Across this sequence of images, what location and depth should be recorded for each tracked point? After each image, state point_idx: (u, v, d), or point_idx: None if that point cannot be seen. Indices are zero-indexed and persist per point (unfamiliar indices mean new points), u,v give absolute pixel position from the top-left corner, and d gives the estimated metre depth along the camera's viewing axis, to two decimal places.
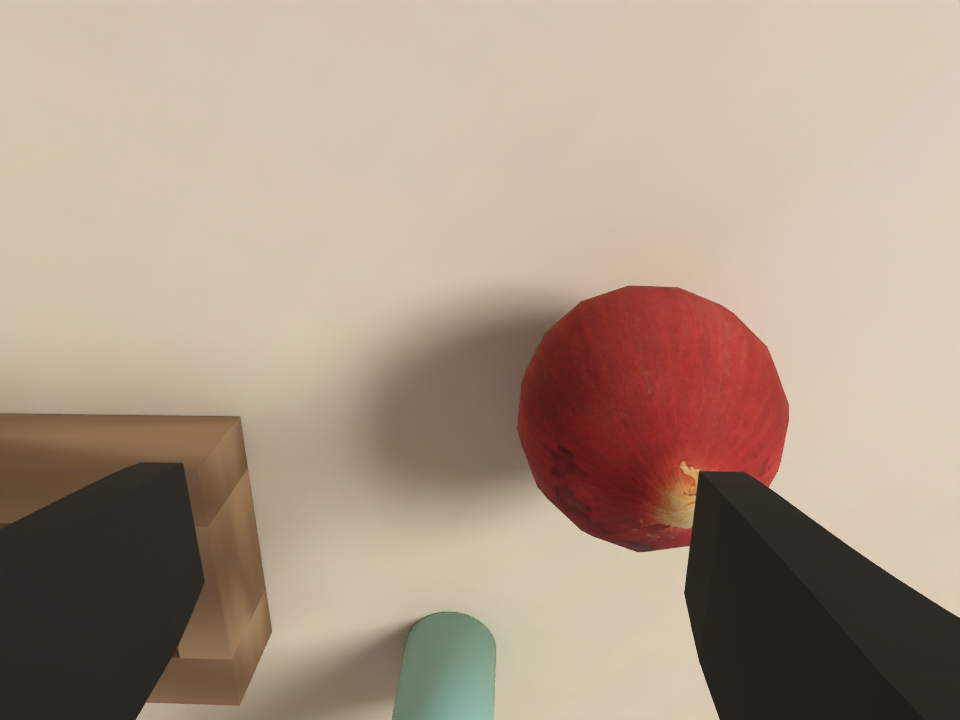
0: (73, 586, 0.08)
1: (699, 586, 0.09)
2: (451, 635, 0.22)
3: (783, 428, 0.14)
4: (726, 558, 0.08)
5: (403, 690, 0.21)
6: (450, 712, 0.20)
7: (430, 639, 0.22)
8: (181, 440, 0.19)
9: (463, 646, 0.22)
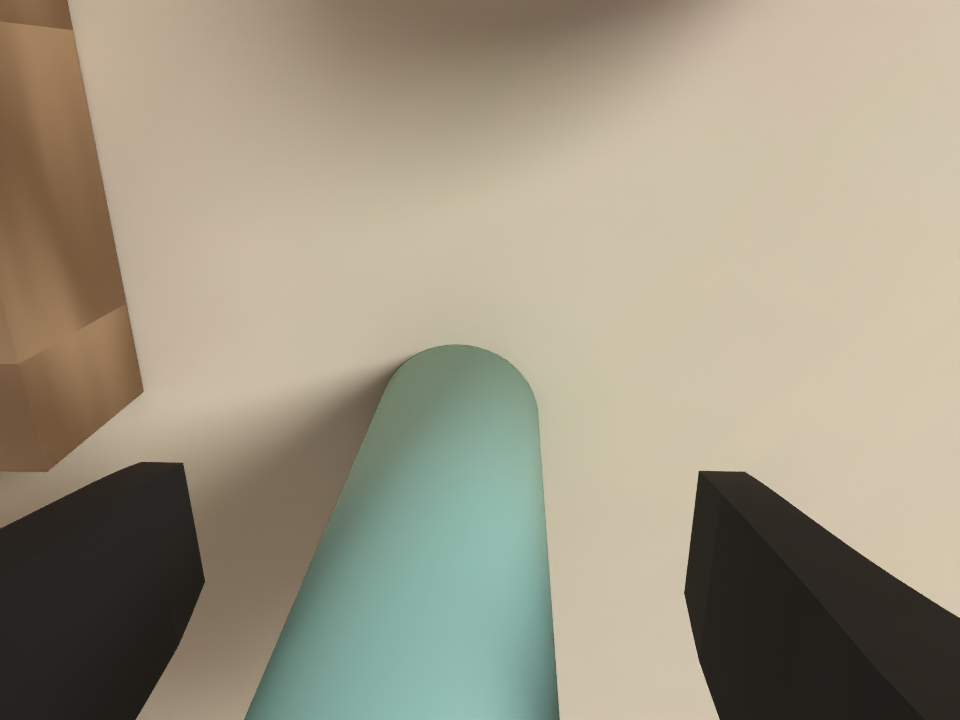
0: (73, 586, 0.08)
1: (699, 586, 0.09)
2: (460, 367, 0.12)
3: None
4: (726, 558, 0.08)
5: (367, 440, 0.11)
6: (461, 449, 0.09)
7: (421, 372, 0.12)
8: None
9: (483, 380, 0.12)
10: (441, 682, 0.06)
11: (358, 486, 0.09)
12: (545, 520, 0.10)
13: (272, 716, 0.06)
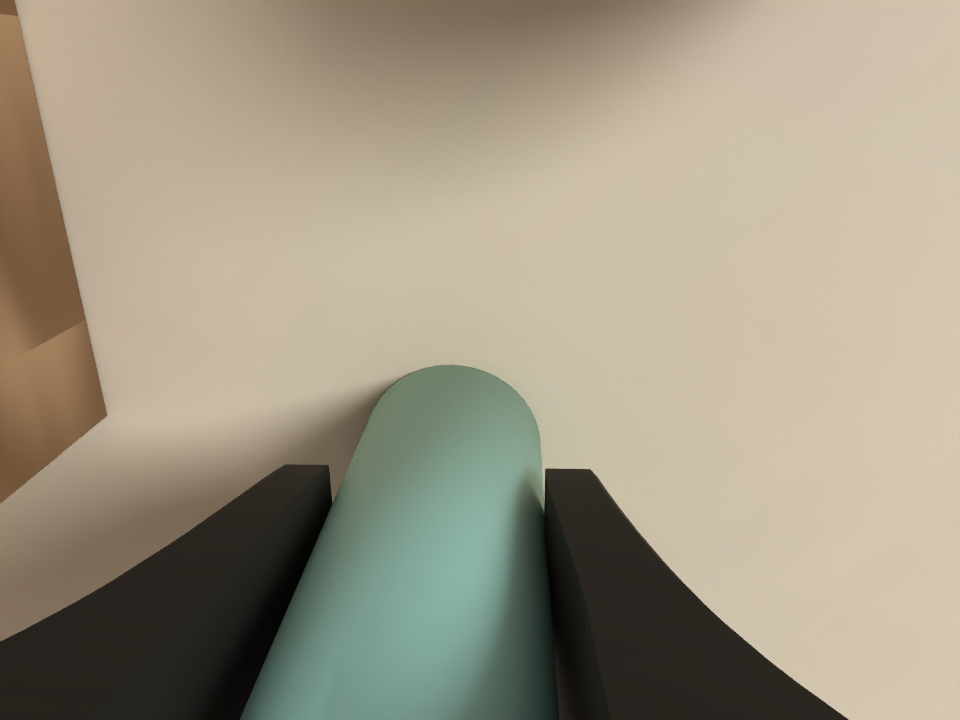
0: (261, 590, 0.07)
1: None
2: (453, 392, 0.11)
3: None
4: (552, 554, 0.08)
5: (347, 478, 0.09)
6: (451, 496, 0.08)
7: (410, 398, 0.11)
8: None
9: (479, 407, 0.10)
10: None
11: (333, 540, 0.08)
12: (548, 573, 0.09)
13: None
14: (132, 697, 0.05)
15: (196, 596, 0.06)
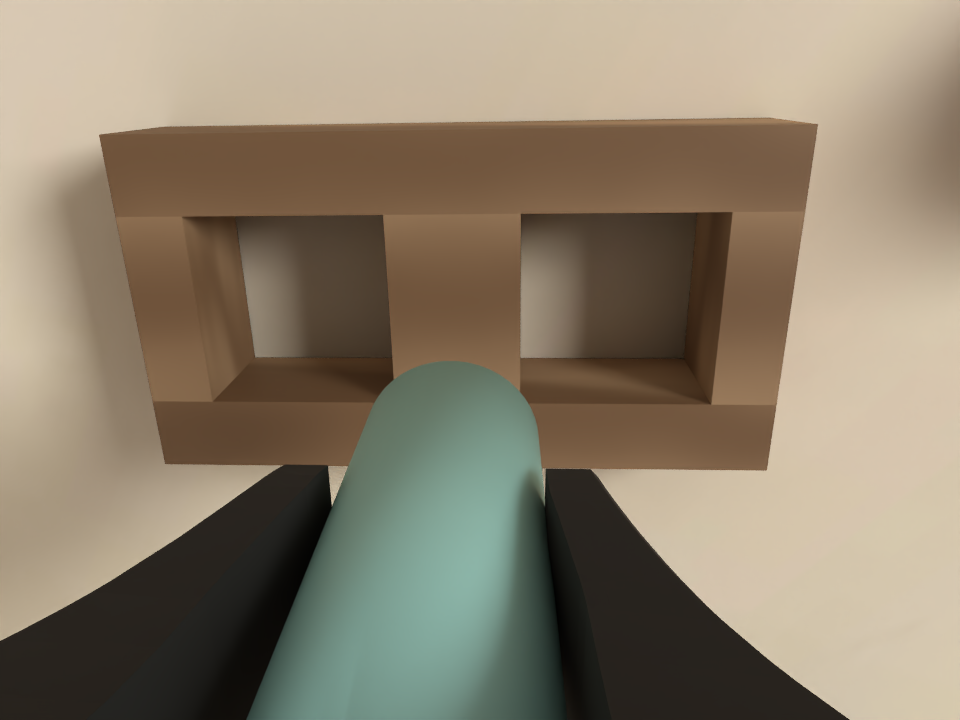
0: (260, 590, 0.07)
1: None
2: (448, 386, 0.11)
3: None
4: (552, 554, 0.08)
5: (347, 477, 0.10)
6: (449, 485, 0.08)
7: (405, 395, 0.11)
8: (741, 121, 0.16)
9: (473, 399, 0.11)
10: None
11: (334, 535, 0.08)
12: None
13: None
14: (130, 697, 0.05)
15: (195, 596, 0.06)
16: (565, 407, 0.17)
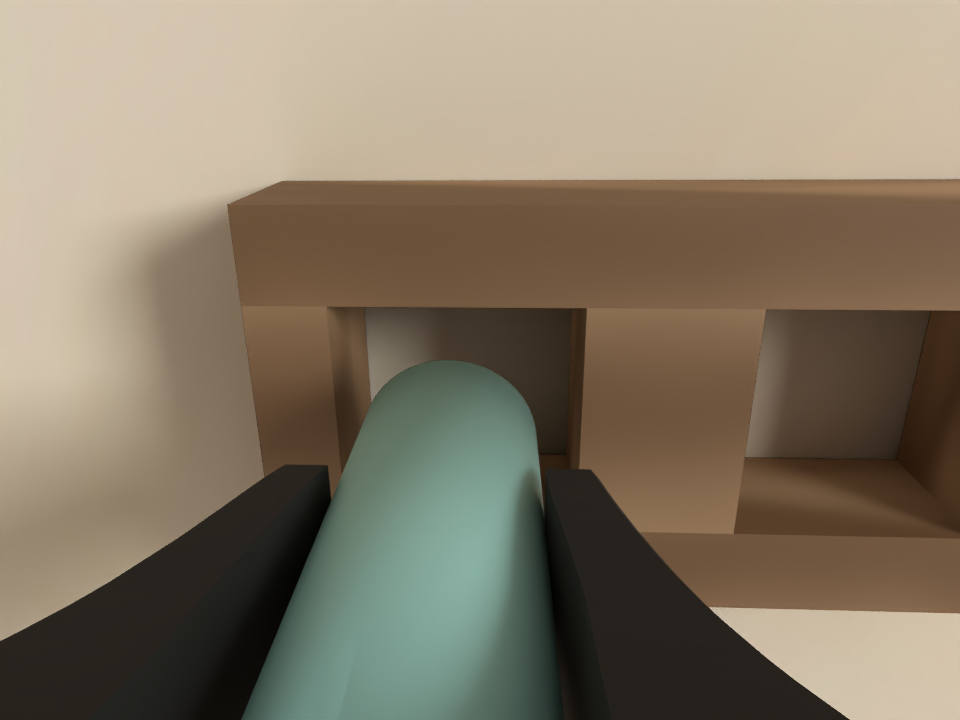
0: (260, 590, 0.07)
1: None
2: (445, 385, 0.11)
3: None
4: (552, 554, 0.08)
5: (344, 476, 0.10)
6: (445, 484, 0.08)
7: (403, 394, 0.11)
8: None
9: (471, 398, 0.10)
10: None
11: (330, 535, 0.08)
12: (547, 556, 0.09)
13: None
14: (131, 697, 0.05)
15: (195, 596, 0.06)
16: (791, 539, 0.14)
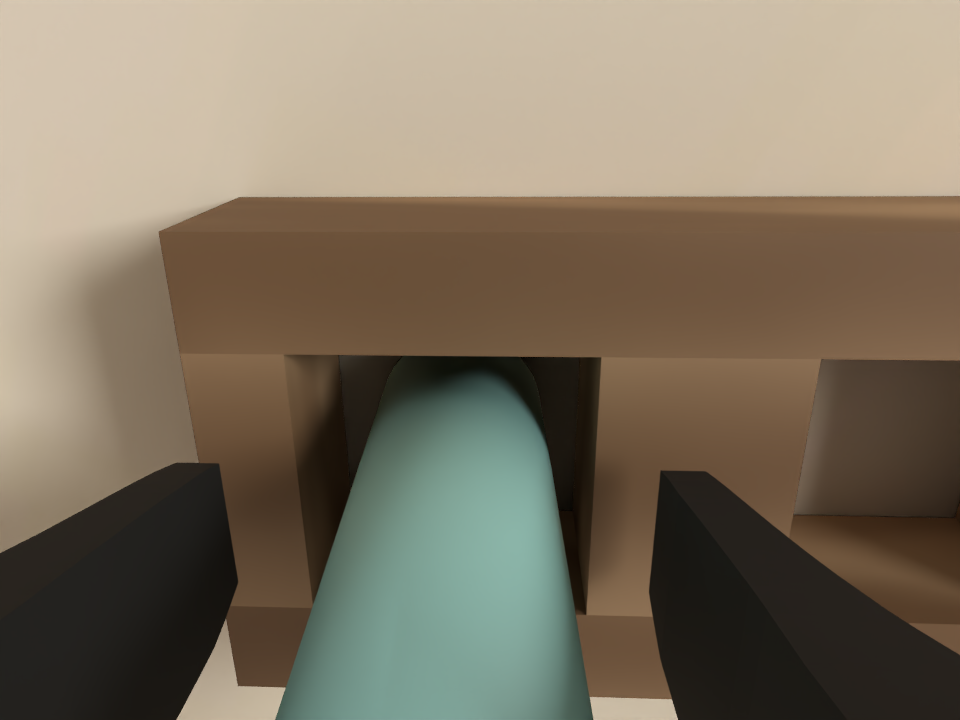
0: (119, 587, 0.08)
1: (661, 585, 0.09)
2: None
3: None
4: (682, 557, 0.08)
5: (374, 432, 0.11)
6: (468, 432, 0.09)
7: (422, 363, 0.12)
8: None
9: (483, 365, 0.12)
10: (472, 652, 0.06)
11: (370, 476, 0.09)
12: None
13: (309, 697, 0.06)
14: None
15: (30, 591, 0.06)
16: None
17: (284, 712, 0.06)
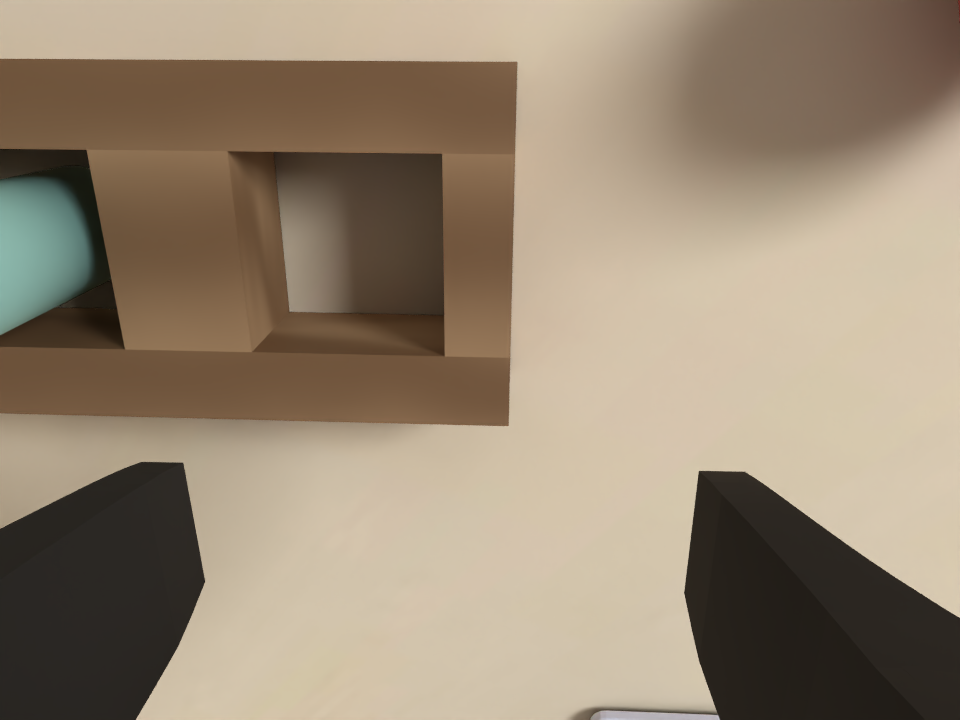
0: (74, 586, 0.08)
1: (699, 586, 0.09)
2: None
3: None
4: (726, 558, 0.08)
5: None
6: None
7: None
8: None
9: (59, 176, 0.17)
10: None
11: None
12: (54, 244, 0.15)
13: None
14: None
15: None
16: (298, 357, 0.16)
17: None
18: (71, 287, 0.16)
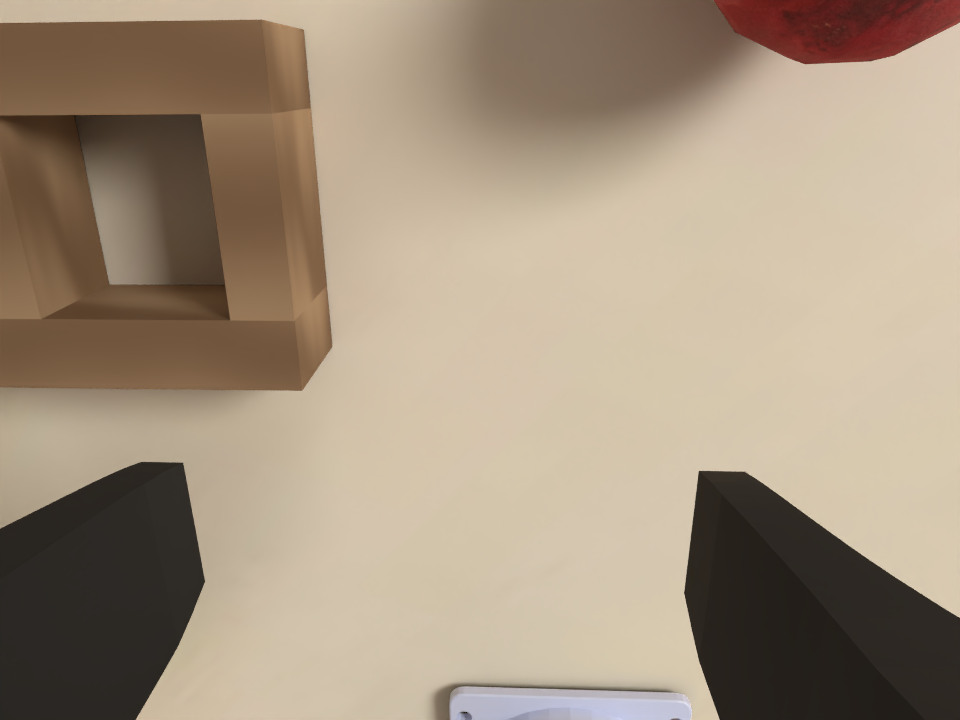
0: (73, 586, 0.08)
1: (699, 586, 0.09)
2: None
3: None
4: (726, 558, 0.08)
5: None
6: None
7: None
8: None
9: None
10: None
11: None
12: None
13: None
14: None
15: None
16: (87, 323, 0.17)
17: None
18: None
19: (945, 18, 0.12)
